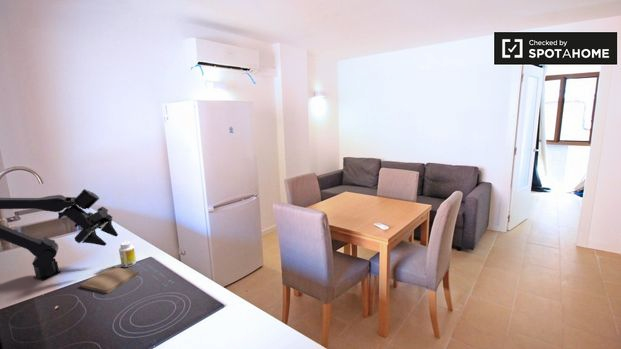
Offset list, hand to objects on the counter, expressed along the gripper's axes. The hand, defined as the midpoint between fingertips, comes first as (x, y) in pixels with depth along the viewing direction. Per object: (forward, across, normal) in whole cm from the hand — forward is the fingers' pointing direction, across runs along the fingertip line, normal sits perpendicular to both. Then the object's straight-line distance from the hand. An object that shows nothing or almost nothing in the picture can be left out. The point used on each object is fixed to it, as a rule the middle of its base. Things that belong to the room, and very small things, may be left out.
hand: (111, 240), depth 131 cm
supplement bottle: (+12, 0, +5) cm, 13 cm away
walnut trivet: (+12, -13, +5) cm, 18 cm away
